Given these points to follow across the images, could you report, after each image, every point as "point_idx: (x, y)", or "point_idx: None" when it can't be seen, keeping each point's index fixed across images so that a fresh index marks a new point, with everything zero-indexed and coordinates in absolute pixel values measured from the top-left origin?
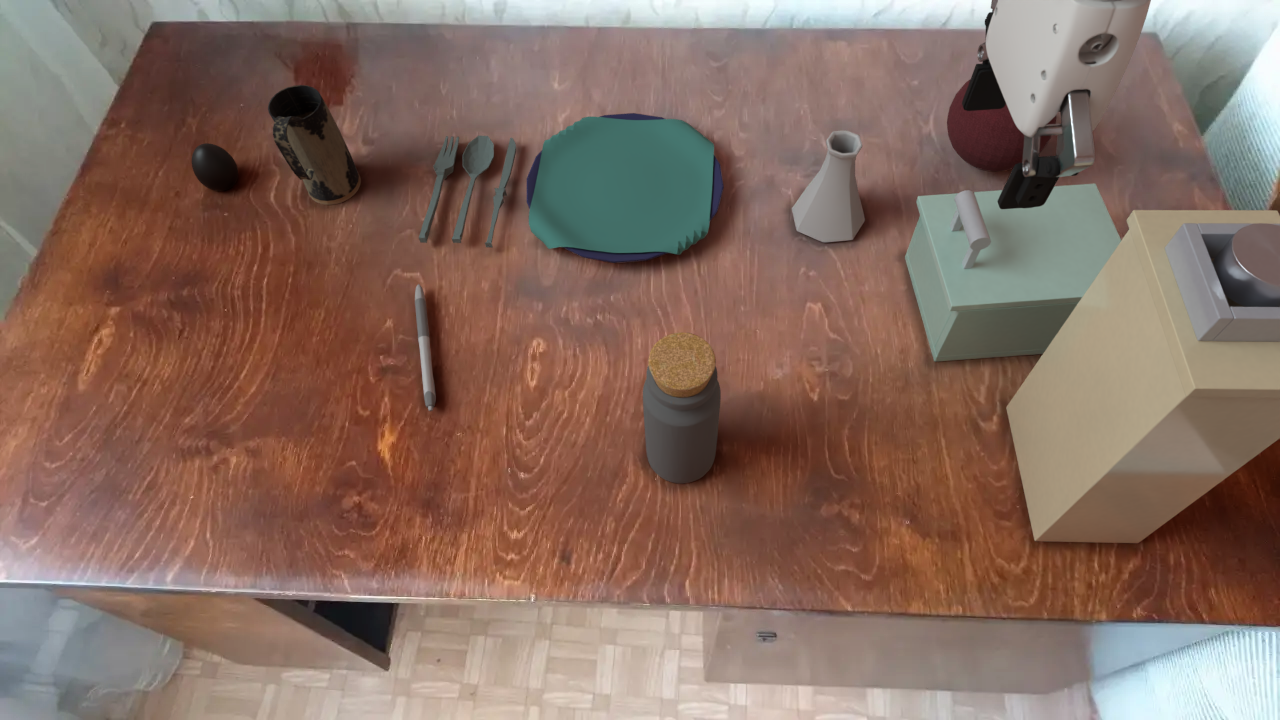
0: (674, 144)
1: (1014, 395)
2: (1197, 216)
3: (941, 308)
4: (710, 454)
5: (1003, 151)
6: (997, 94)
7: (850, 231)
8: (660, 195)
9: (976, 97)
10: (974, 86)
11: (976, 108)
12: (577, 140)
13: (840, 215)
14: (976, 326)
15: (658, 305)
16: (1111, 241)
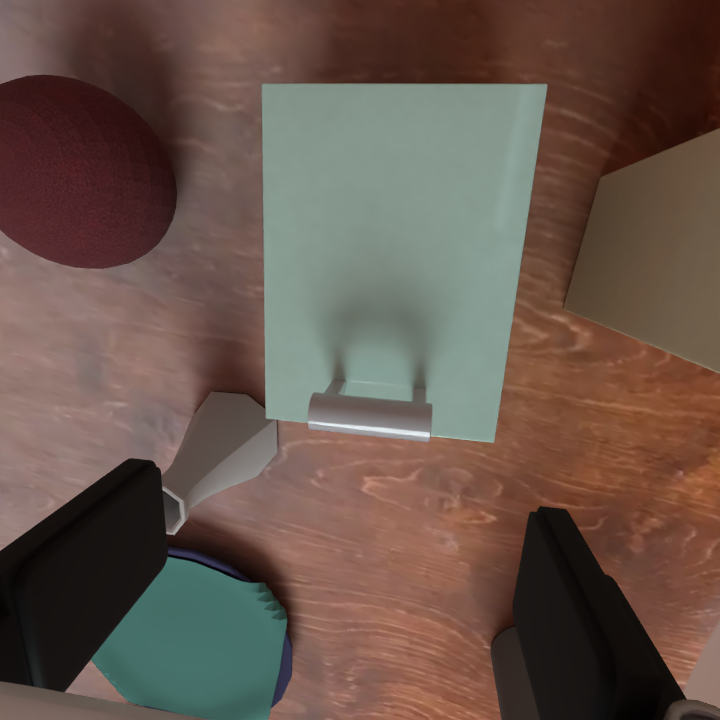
0: None
1: (575, 314)
2: None
3: None
4: None
5: (155, 205)
6: (124, 533)
7: (268, 426)
8: (201, 608)
9: (135, 585)
10: (103, 642)
11: (161, 539)
12: (122, 666)
13: (251, 451)
14: None
15: (343, 628)
16: (411, 107)
